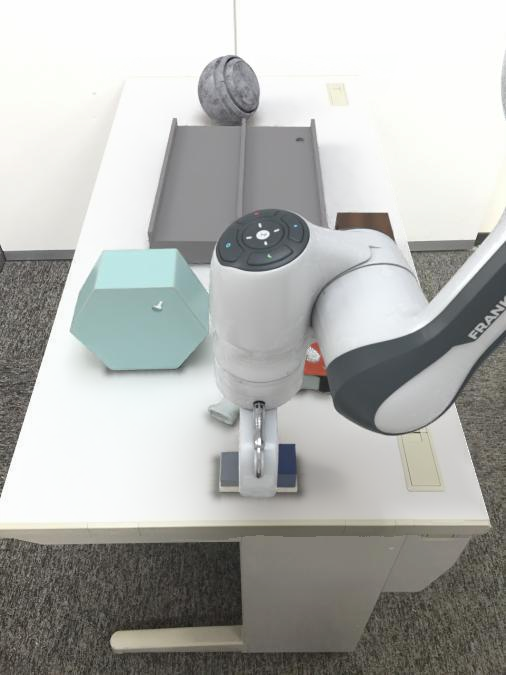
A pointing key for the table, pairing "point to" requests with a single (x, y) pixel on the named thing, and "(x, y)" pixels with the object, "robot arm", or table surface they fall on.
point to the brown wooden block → (364, 221)
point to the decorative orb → (228, 90)
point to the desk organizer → (232, 182)
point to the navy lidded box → (284, 477)
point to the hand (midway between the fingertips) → (256, 434)
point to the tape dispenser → (311, 380)
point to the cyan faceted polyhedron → (141, 310)
